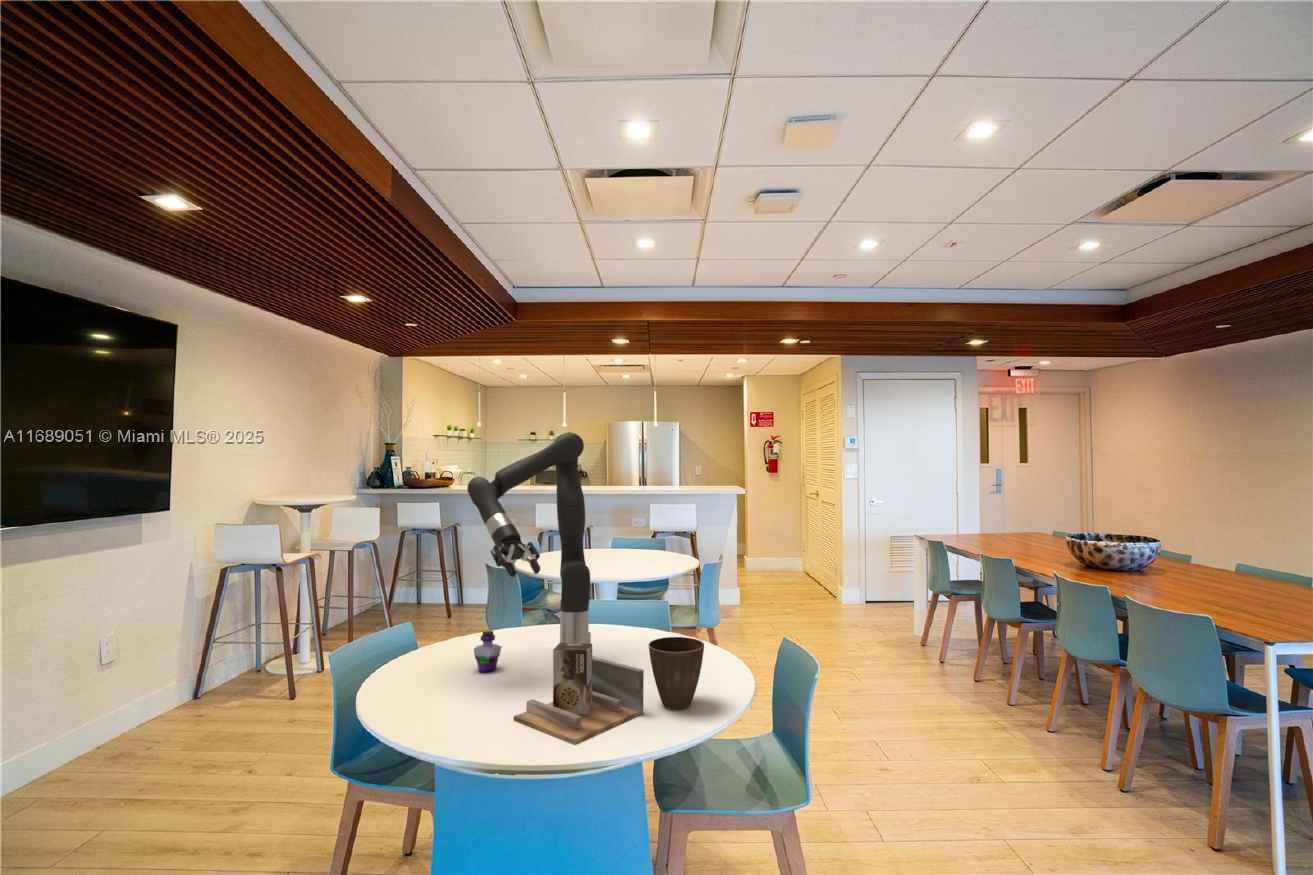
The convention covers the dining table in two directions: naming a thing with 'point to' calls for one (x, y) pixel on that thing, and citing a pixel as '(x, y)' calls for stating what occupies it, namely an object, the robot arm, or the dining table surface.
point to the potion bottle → (487, 653)
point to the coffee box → (572, 677)
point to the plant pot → (676, 669)
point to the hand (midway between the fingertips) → (526, 573)
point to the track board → (611, 704)
